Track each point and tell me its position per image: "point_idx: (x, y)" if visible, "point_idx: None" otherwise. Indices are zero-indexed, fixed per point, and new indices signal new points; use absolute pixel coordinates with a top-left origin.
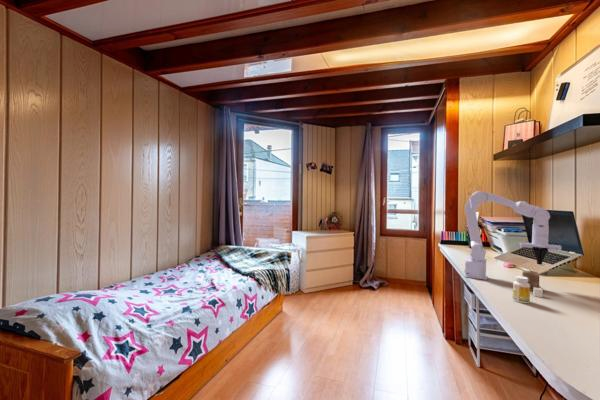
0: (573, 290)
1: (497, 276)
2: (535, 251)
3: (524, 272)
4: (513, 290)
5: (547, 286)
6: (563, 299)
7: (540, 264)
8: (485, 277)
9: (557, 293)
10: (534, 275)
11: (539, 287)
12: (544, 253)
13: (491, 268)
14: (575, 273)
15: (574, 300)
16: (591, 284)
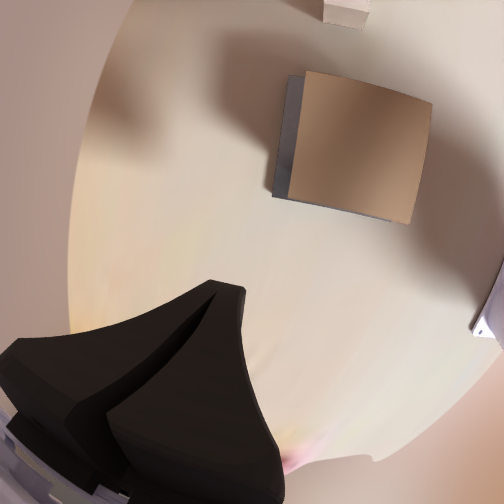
0: (122, 210)
1: (416, 350)
2: (248, 433)
3: (427, 121)
4: None
5: (218, 239)
6: (224, 7)
7: (219, 282)
8: (500, 286)
9: (212, 103)
10: (348, 82)
11: (288, 150)
12: (81, 347)
13: (361, 443)
14: None
15: (177, 20)
16: (74, 322)
